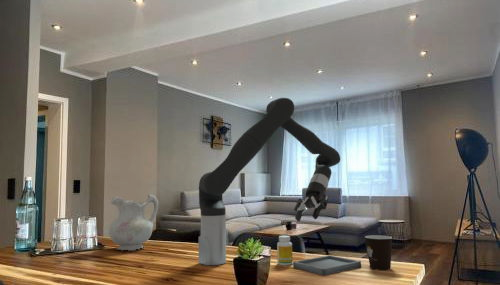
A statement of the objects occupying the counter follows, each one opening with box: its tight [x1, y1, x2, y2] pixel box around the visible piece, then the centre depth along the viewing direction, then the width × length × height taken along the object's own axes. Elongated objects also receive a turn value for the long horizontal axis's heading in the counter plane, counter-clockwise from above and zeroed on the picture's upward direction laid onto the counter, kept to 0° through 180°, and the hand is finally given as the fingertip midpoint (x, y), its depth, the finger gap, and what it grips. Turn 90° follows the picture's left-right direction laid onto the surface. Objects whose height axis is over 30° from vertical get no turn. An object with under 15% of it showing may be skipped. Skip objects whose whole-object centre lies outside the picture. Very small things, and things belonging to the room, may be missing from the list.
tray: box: [292, 254, 362, 276], centre depth 121 cm, size 18×14×2 cm
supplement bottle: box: [276, 235, 294, 266], centre depth 128 cm, size 5×5×10 cm
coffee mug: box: [364, 234, 393, 271], centre depth 121 cm, size 12×9×10 cm
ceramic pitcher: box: [108, 194, 159, 251], centre depth 168 cm, size 22×20×25 cm
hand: (305, 219), depth 137 cm, fingers open, 8 cm apart
